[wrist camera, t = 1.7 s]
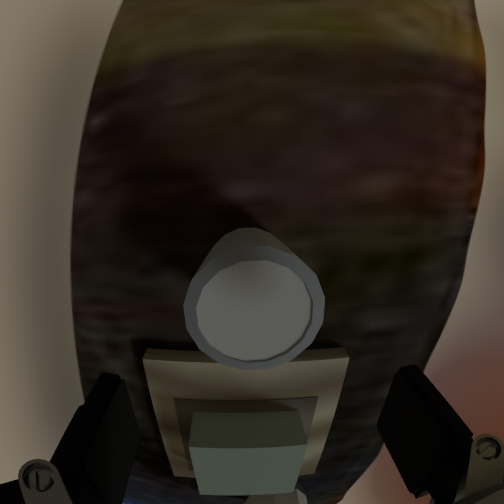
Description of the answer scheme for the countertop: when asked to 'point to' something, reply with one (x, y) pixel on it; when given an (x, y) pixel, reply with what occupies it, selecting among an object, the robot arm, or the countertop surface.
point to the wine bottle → (279, 497)
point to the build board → (242, 395)
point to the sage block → (247, 452)
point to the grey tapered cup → (253, 302)
